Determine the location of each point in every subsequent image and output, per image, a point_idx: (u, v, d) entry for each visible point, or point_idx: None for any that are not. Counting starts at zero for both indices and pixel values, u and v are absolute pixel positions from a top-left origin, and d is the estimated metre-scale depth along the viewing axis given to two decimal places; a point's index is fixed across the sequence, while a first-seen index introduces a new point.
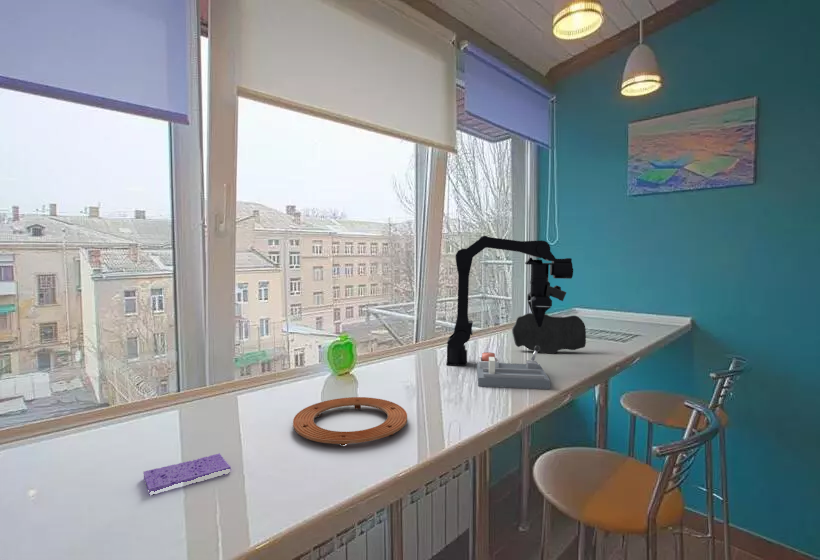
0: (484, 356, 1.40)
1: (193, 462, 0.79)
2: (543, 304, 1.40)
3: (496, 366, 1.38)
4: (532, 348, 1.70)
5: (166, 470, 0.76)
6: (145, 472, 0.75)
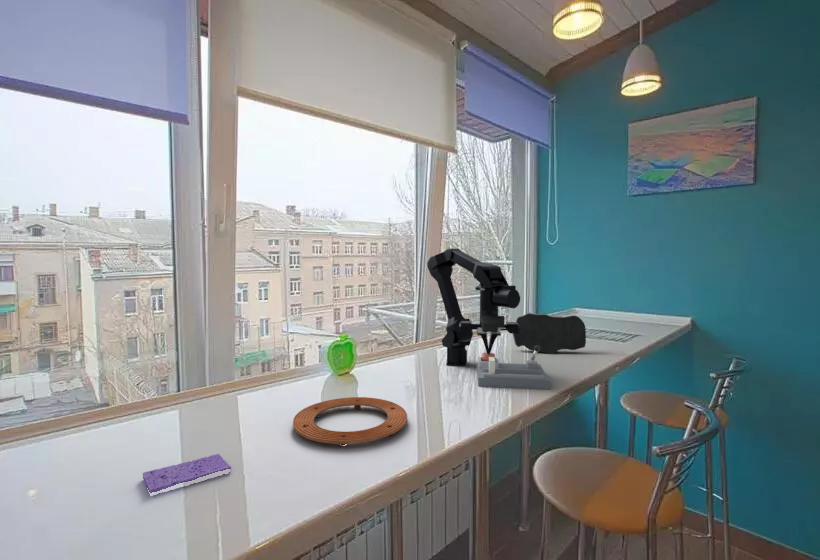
0: (484, 356, 1.40)
1: (192, 462, 0.79)
2: None
3: (496, 366, 1.38)
4: (532, 348, 1.70)
5: (165, 471, 0.76)
6: (144, 473, 0.75)
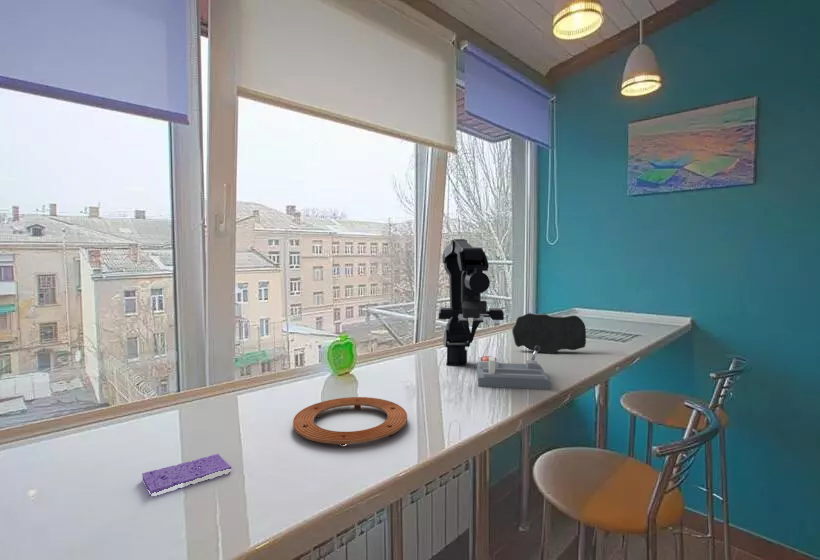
0: (484, 360, 1.40)
1: (192, 463, 0.79)
2: None
3: (496, 366, 1.38)
4: (532, 348, 1.70)
5: (165, 472, 0.76)
6: (144, 474, 0.75)
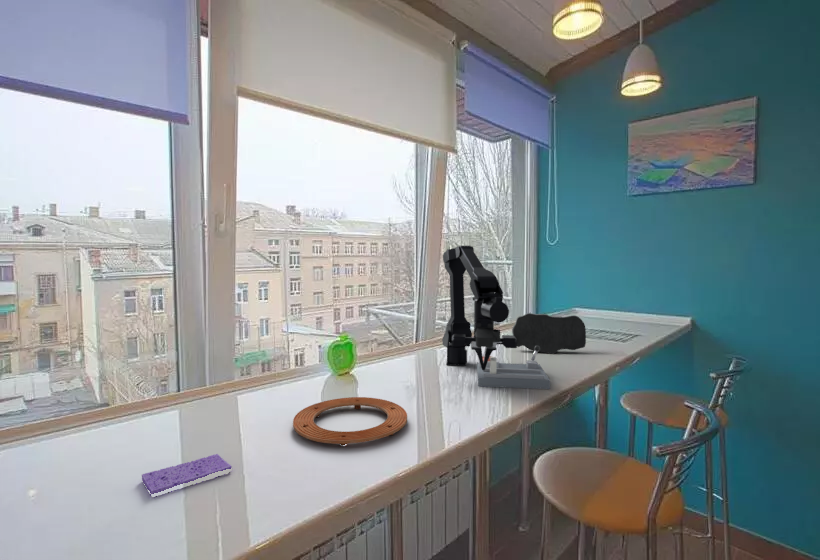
0: None
1: (192, 463, 0.79)
2: None
3: (496, 366, 1.38)
4: (532, 348, 1.70)
5: (165, 472, 0.76)
6: (144, 475, 0.74)
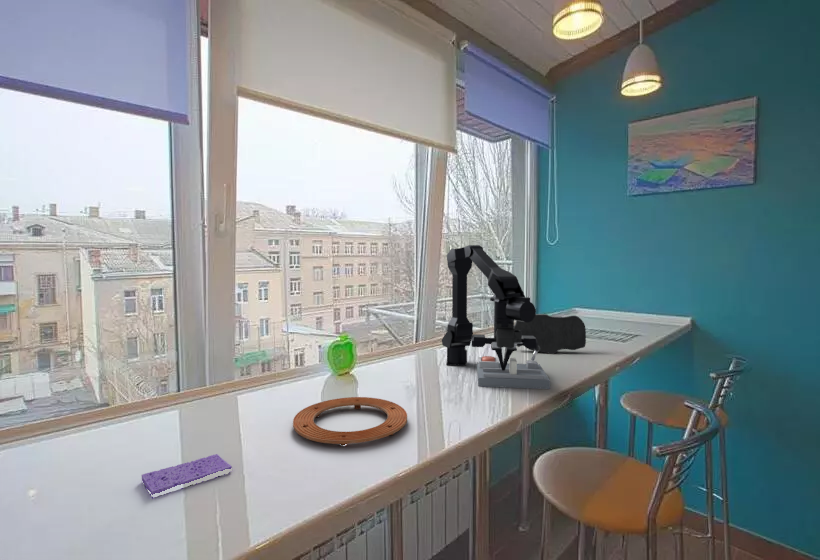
0: (484, 360, 1.40)
1: (192, 463, 0.79)
2: None
3: (496, 366, 1.38)
4: None
5: (165, 473, 0.75)
6: (144, 475, 0.74)
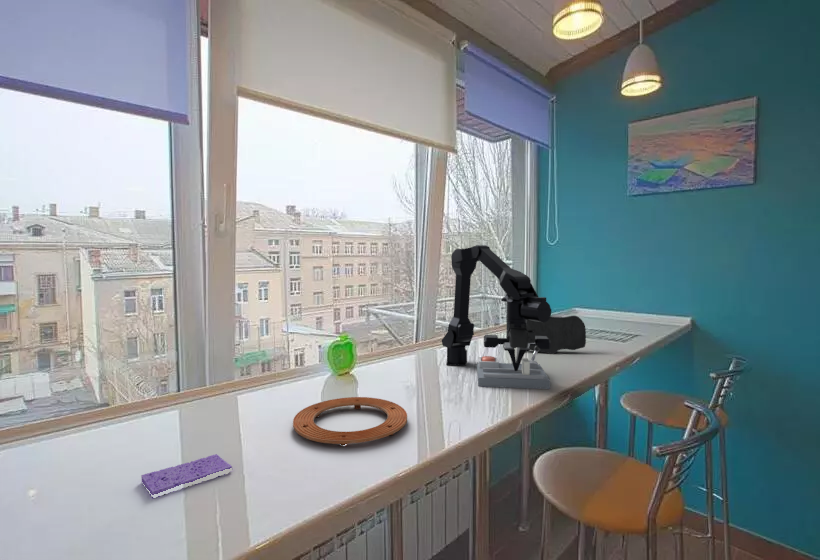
0: (484, 360, 1.40)
1: (191, 463, 0.79)
2: None
3: (496, 366, 1.38)
4: (532, 348, 1.70)
5: (165, 473, 0.75)
6: (143, 475, 0.74)
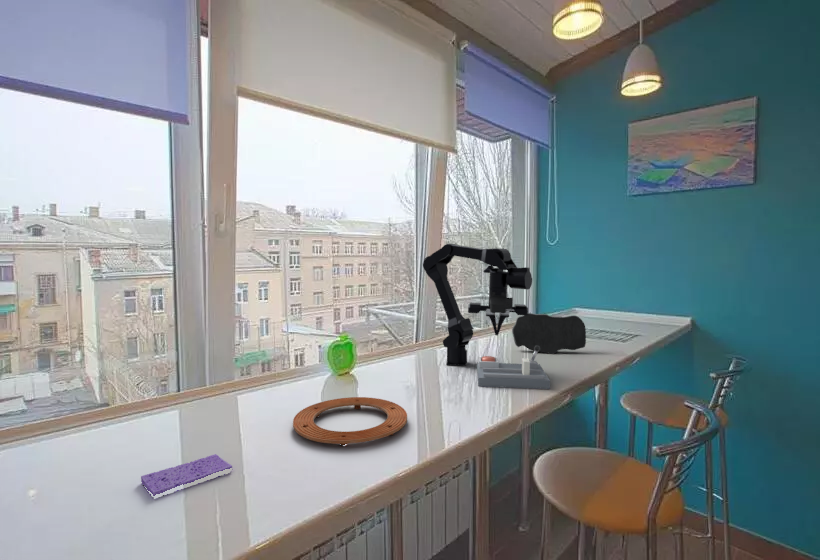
0: (484, 360, 1.40)
1: (191, 464, 0.79)
2: None
3: (496, 366, 1.38)
4: (532, 348, 1.70)
5: (165, 474, 0.75)
6: (143, 476, 0.74)
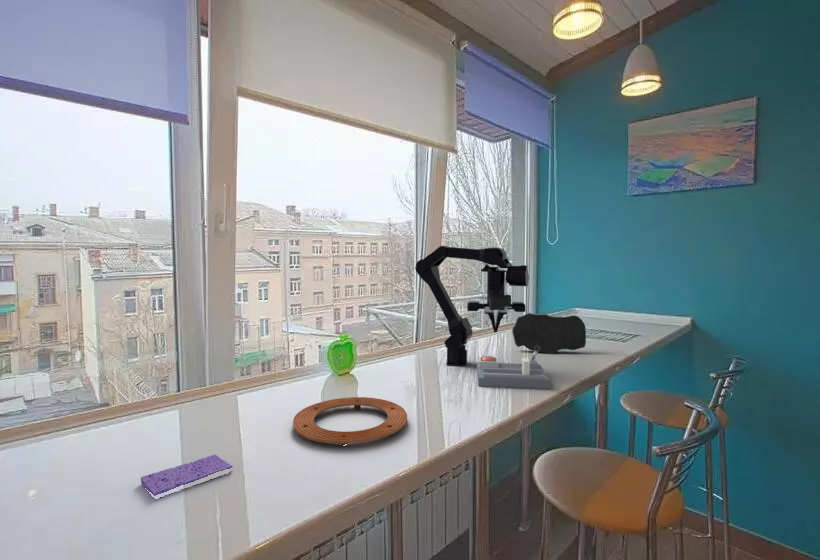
0: (484, 360, 1.40)
1: (191, 464, 0.78)
2: None
3: (496, 366, 1.38)
4: (532, 348, 1.70)
5: (164, 474, 0.75)
6: (143, 477, 0.74)
